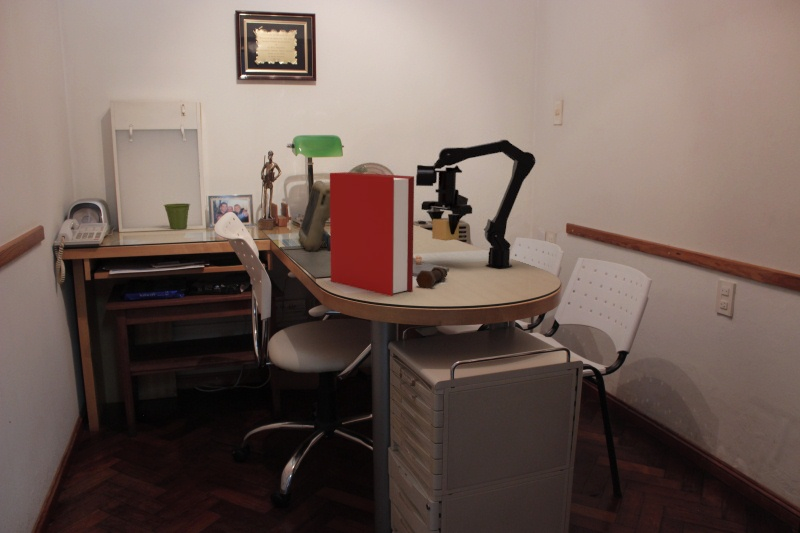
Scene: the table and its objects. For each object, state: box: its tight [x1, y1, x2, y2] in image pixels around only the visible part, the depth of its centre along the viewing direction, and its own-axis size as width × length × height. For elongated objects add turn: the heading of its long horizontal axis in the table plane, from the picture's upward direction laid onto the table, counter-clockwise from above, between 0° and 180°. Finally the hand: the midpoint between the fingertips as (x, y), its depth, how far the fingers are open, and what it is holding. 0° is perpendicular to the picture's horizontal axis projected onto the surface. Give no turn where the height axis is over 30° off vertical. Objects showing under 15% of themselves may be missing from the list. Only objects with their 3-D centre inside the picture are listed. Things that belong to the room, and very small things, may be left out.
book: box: [329, 171, 415, 297], centre depth 184 cm, size 27×8×32 cm, turn 46°
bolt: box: [415, 266, 448, 289], centre depth 191 cm, size 6×5×15 cm
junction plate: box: [413, 255, 450, 278], centre depth 209 cm, size 14×14×5 cm
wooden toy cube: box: [431, 217, 460, 242], centre depth 215 cm, size 6×6×6 cm
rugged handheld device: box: [298, 180, 331, 252], centre depth 256 cm, size 33×14×25 cm, turn 18°
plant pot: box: [163, 203, 191, 230], centre depth 301 cm, size 12×12×11 cm
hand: (445, 233), depth 216 cm, fingers closed on wooden toy cube, 6 cm apart
